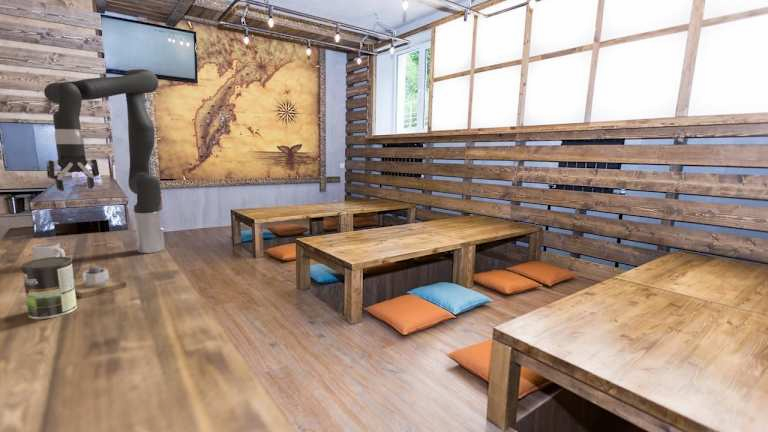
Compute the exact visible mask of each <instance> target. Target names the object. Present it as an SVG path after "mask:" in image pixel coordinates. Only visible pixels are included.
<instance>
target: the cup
mask: <svg viewBox="0 0 768 432" xmlns="http://www.w3.org/2000/svg"><path fill="white" fill-rule="evenodd" d="M31 250H32V253H33V257H34V260H37V259H42V258H49V257H66V252H65V250H64V249H63V248H62V247H61V243H59V242H44V243H43V242H42V243H38V244H35V245H32V246H31Z"/></svg>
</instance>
